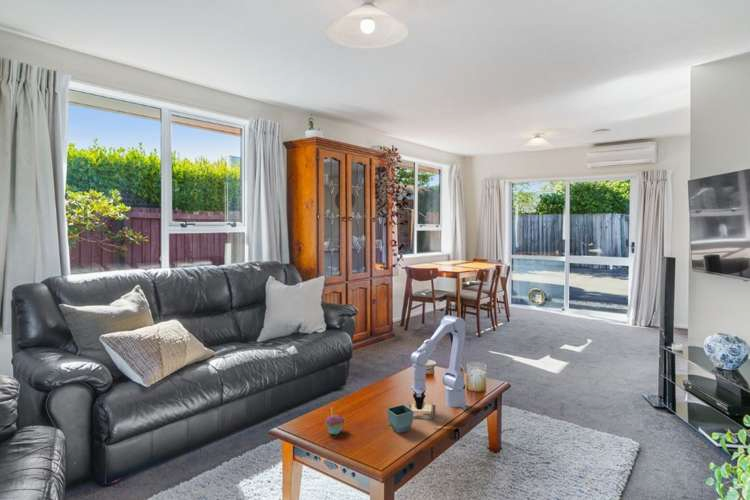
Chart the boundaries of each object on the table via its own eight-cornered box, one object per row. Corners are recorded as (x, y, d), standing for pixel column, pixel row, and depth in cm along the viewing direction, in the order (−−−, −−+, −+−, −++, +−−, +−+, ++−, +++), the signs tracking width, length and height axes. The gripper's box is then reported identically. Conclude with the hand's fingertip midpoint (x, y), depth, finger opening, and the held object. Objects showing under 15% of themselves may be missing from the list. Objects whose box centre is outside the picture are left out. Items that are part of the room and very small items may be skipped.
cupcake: (336, 438, 189) (335, 409, 188) (320, 433, 193) (319, 406, 193) (348, 430, 196) (347, 403, 196) (332, 426, 201) (332, 399, 200)
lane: (432, 406, 220) (432, 404, 220) (432, 421, 204) (432, 418, 204) (408, 406, 222) (407, 403, 222) (406, 420, 205) (406, 418, 205)
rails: (432, 406, 220) (432, 401, 220) (432, 421, 204) (432, 416, 204) (408, 406, 222) (407, 401, 222) (406, 420, 205) (406, 415, 205)
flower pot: (396, 436, 189) (396, 415, 189) (386, 428, 197) (386, 408, 197) (414, 432, 194) (414, 411, 193) (403, 424, 201) (403, 404, 201)
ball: (424, 407, 211) (424, 396, 211) (424, 411, 206) (424, 400, 206) (414, 406, 212) (413, 396, 212) (413, 411, 207) (413, 400, 207)
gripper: (411, 372, 216) (411, 400, 217) (409, 382, 202) (410, 412, 202) (426, 373, 215) (426, 401, 216) (425, 383, 201) (426, 413, 202)
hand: (419, 407), depth 209 cm, fingers closed on ball, 5 cm apart
